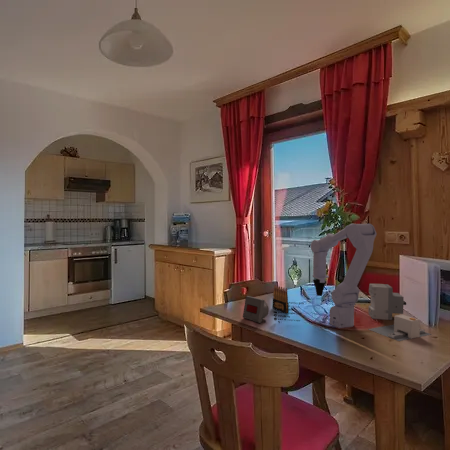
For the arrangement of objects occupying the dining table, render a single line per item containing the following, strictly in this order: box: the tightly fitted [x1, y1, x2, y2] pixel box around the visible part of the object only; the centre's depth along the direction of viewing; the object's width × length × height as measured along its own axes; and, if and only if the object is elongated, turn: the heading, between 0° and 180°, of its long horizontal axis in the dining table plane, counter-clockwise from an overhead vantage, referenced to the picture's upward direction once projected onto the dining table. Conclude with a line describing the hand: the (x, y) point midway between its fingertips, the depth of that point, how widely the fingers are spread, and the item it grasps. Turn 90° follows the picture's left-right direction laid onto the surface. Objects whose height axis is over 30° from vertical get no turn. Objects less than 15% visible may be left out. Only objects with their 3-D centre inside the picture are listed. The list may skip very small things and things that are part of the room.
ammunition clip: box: [271, 284, 290, 315], centre depth 161 cm, size 11×2×12 cm, turn 28°
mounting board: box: [367, 324, 432, 342], centre depth 129 cm, size 18×14×1 cm
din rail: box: [387, 328, 426, 340], centre depth 126 cm, size 17×3×1 cm, turn 114°
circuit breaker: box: [367, 283, 407, 321], centre depth 148 cm, size 8×14×15 cm, turn 78°
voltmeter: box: [242, 295, 303, 324], centre depth 145 cm, size 27×11×10 cm, turn 77°
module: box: [393, 314, 421, 339], centre depth 126 cm, size 4×7×7 cm, turn 24°
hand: (319, 295), depth 153 cm, fingers closed
